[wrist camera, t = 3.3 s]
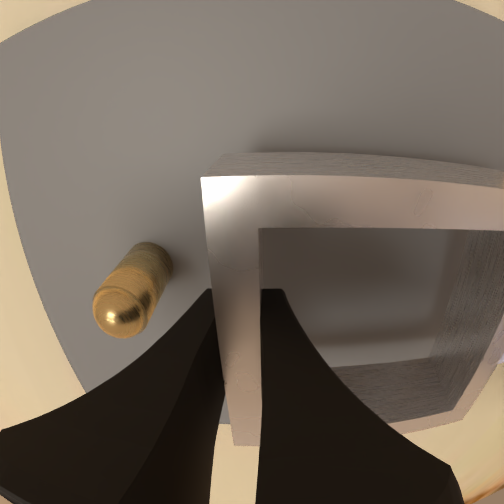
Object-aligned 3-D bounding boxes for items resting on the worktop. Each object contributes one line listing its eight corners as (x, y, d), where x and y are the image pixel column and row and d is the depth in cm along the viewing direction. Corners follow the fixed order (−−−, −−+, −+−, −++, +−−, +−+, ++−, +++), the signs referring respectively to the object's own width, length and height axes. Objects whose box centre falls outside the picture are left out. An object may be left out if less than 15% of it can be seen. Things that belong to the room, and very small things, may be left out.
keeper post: (174, 233, 12) (131, 301, 8) (181, 276, 13) (146, 353, 9) (130, 234, 13) (74, 297, 8) (138, 275, 13) (93, 347, 9)
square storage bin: (498, 169, 8) (557, 198, 5) (439, 370, 12) (462, 419, 9) (223, 153, 8) (200, 177, 6) (240, 384, 12) (233, 445, 9)
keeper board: (496, 24, 7) (506, 23, 7) (421, 400, 17) (424, 409, 16) (8, 45, 8) (-3, 44, 8) (97, 397, 18) (93, 405, 17)
